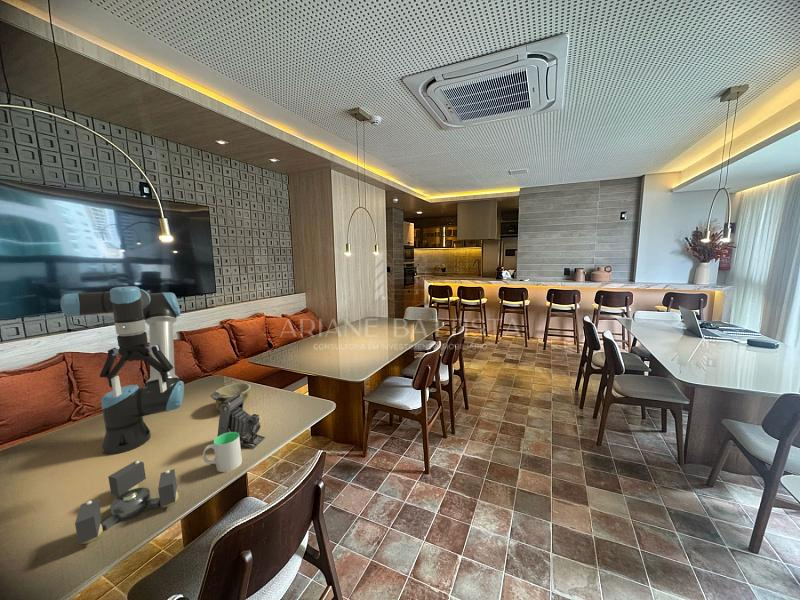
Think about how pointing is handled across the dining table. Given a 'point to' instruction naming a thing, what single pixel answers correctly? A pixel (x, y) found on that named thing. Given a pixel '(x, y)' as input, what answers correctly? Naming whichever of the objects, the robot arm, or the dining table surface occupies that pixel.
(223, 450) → the mug
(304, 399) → the dining table surface
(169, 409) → the robot arm
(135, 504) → the level base
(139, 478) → the grey block with dot
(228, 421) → the camera
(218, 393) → the bowl
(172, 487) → the knob
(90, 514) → the knob
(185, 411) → the dining table surface
